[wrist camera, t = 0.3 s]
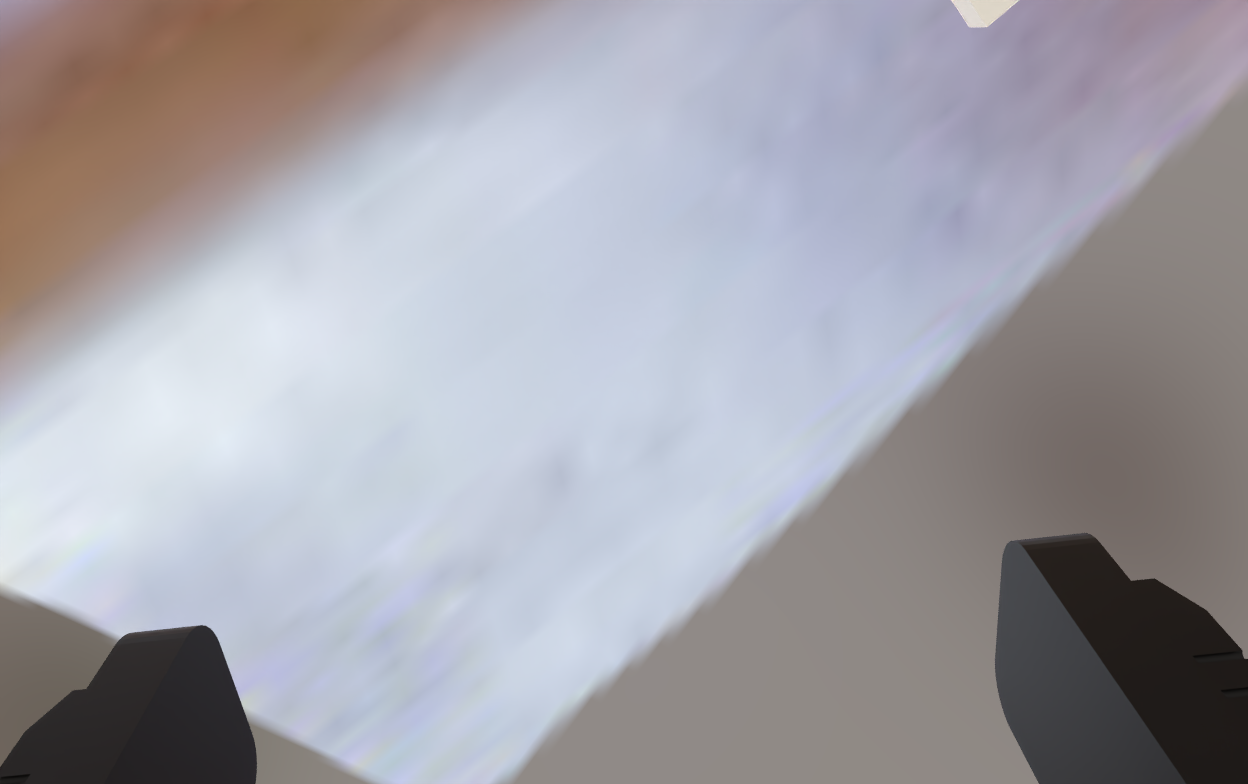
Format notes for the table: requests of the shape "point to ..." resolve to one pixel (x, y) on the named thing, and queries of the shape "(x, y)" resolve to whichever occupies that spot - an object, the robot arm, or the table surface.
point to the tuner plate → (982, 10)
